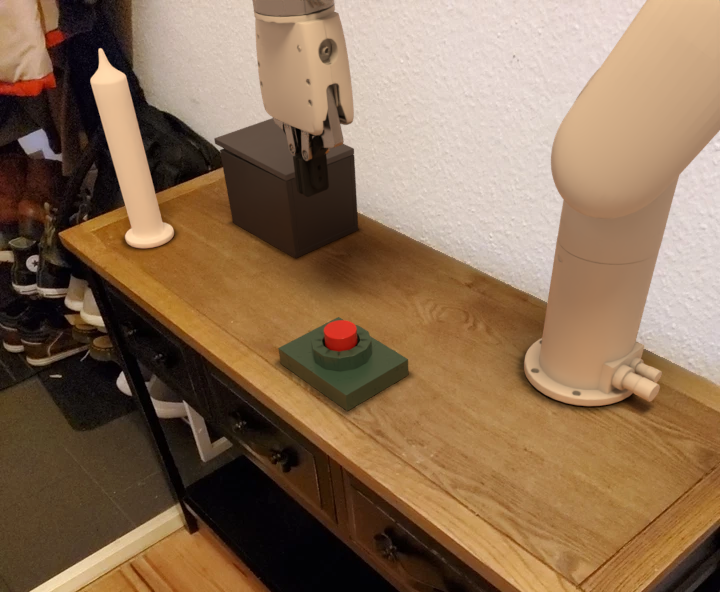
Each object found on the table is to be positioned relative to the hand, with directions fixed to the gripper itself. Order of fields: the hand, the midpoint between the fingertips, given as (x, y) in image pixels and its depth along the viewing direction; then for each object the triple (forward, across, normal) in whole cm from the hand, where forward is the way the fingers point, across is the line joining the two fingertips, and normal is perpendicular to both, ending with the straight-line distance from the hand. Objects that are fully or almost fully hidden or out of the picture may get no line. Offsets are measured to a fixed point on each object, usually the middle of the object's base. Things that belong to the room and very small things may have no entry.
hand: (313, 190), depth 81 cm
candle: (+16, +35, +6) cm, 39 cm away
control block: (+16, -10, +5) cm, 20 cm away
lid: (+5, +23, -12) cm, 26 cm away
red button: (+12, -10, +5) cm, 17 cm away
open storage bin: (+16, +23, -12) cm, 30 cm away
